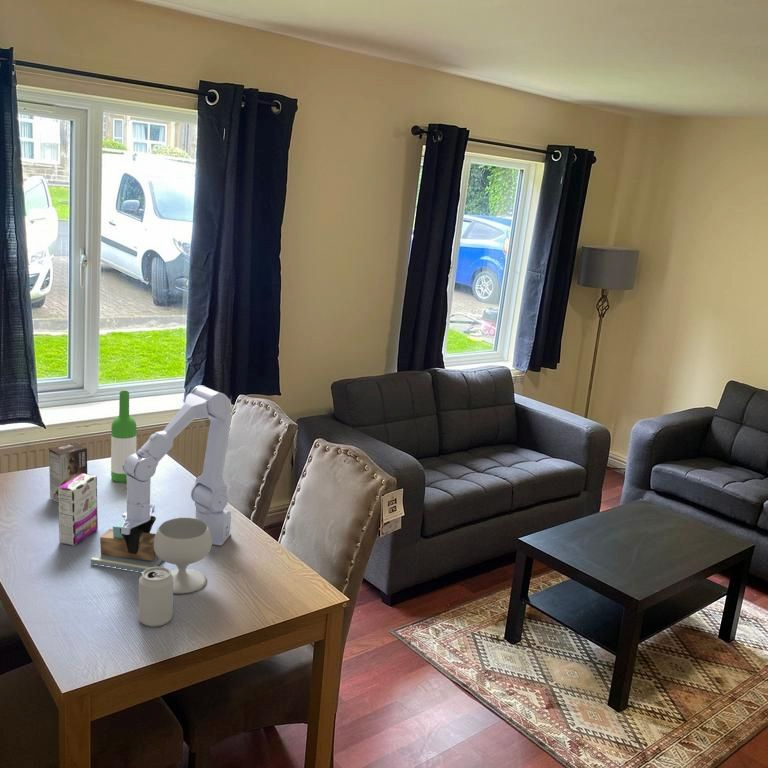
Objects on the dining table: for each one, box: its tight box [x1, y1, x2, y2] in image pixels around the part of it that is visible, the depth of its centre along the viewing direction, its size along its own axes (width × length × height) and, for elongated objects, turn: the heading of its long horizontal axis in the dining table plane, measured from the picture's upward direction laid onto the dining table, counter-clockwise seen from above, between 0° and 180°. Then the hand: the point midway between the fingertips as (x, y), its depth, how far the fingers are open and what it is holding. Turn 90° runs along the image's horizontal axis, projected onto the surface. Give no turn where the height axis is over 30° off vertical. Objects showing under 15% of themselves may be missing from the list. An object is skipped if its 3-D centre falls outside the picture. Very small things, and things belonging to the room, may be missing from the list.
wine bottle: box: [110, 390, 138, 483], centre depth 239 cm, size 8×8×30 cm
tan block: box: [99, 528, 157, 560], centre depth 192 cm, size 14×5×5 cm, turn 82°
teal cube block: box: [112, 519, 125, 538], centre depth 191 cm, size 4×4×3 cm
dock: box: [90, 550, 164, 572], centre depth 193 cm, size 16×11×2 cm
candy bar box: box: [57, 473, 99, 547], centre depth 200 cm, size 11×5×16 cm, turn 168°
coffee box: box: [48, 442, 88, 503], centre depth 224 cm, size 9×6×16 cm
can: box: [138, 566, 174, 628], centre depth 167 cm, size 8×8×12 cm
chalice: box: [154, 517, 213, 595], centre depth 183 cm, size 14×14×15 cm
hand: (137, 548), depth 192 cm, fingers closed on tan block, 5 cm apart
